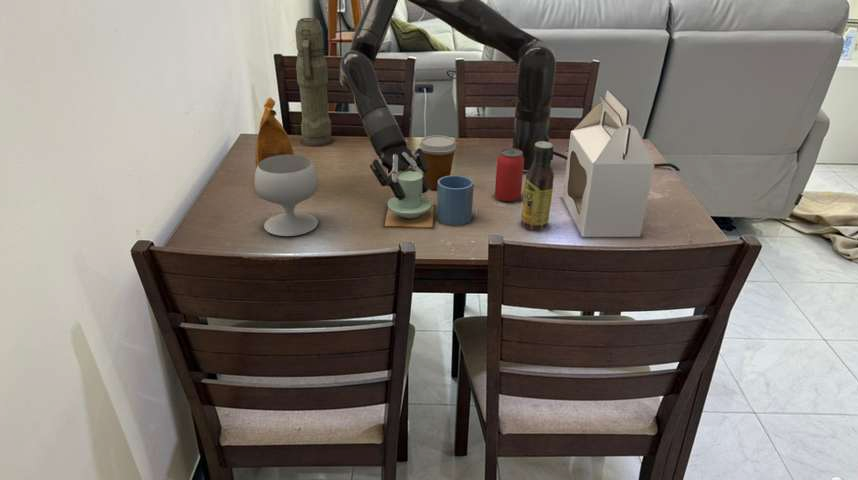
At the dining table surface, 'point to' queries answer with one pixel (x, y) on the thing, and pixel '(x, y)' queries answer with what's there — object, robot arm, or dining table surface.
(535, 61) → the robot arm
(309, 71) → the stone tiki statue
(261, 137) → the coffee package
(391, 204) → the pale green top hat
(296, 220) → the chalice
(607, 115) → the gable box
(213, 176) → the dining table surface
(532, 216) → the sauce bottle
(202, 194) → the dining table surface
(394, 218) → the cork mat
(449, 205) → the blue cup
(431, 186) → the disposable coffee cup
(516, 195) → the beer can
